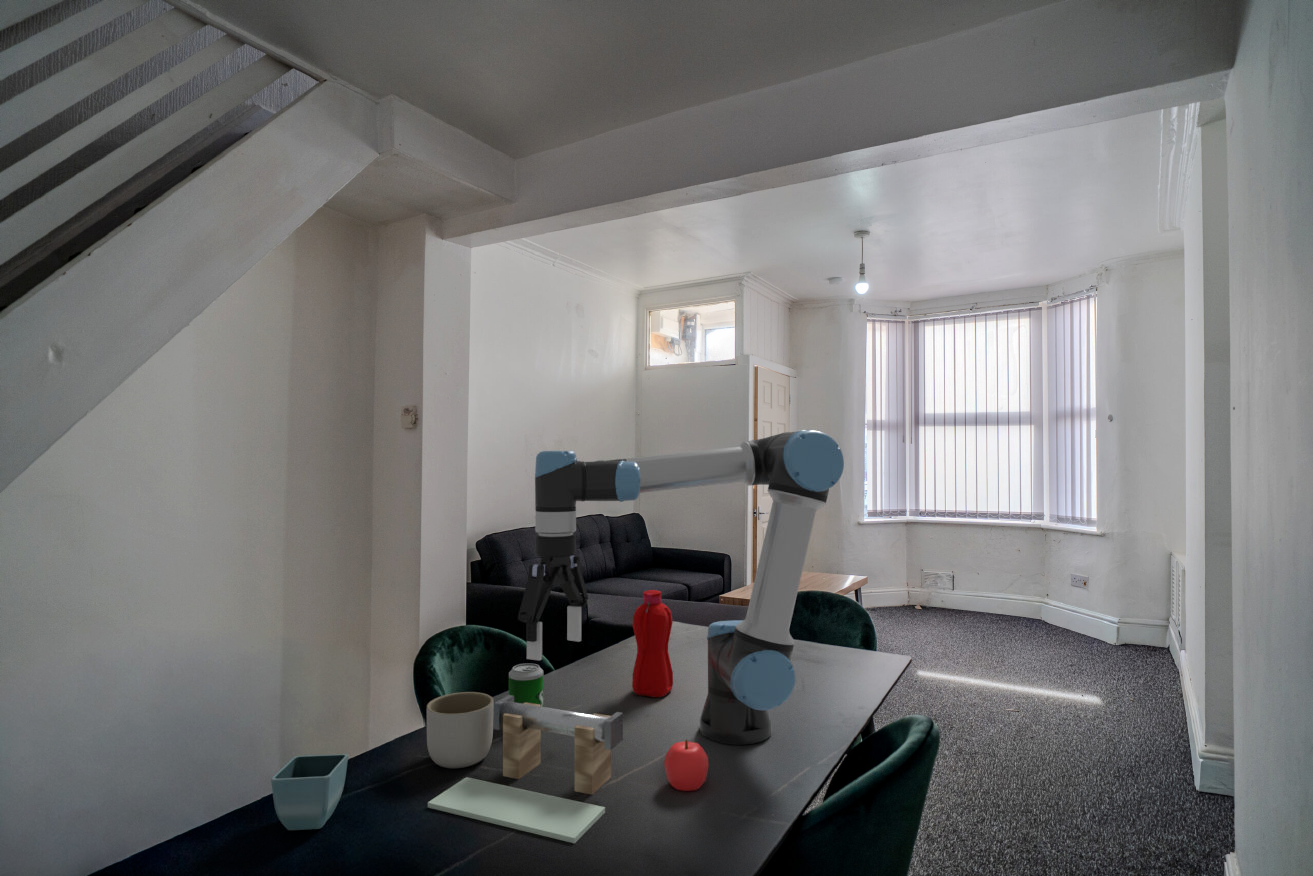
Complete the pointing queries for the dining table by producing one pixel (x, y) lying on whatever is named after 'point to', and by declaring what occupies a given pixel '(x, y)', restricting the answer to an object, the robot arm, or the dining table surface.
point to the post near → (590, 760)
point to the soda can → (526, 684)
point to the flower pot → (309, 790)
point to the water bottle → (652, 647)
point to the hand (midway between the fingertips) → (555, 649)
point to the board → (519, 809)
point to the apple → (686, 766)
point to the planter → (459, 728)
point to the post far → (519, 746)
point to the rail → (561, 720)
